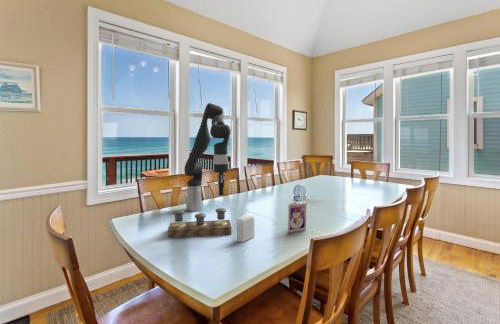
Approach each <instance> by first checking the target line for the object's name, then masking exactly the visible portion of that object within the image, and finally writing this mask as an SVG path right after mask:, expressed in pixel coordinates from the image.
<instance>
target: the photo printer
mask: <svg viewBox="0 0 500 324" xmlns="http://www.w3.org/2000/svg"><path fill="white" fill-rule="evenodd" d="M255 219H256V218H255V215H254V214H251V213H245V214H242V215H241V216H239V218H238V219H237V220H236V240H237V241H238V243H244V242H245V241H249V240H251V239H252V238H255V231H256V230H255V229H256V227H255V226H256V225H255V223H256V222H255V221H256V220H255Z"/></svg>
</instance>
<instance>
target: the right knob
mask: <svg viewBox="0 0 500 324" xmlns="http://www.w3.org/2000/svg"><path fill="white" fill-rule="evenodd" d="M226 212H227V208H224V207H223V208H222V207H220V208H219V207H218V208H216V209H215V213H217V215H216V219H217V220H226V215H225V214H226Z"/></svg>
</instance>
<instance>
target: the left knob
mask: <svg viewBox="0 0 500 324" xmlns="http://www.w3.org/2000/svg"><path fill="white" fill-rule="evenodd" d="M172 214H173V215H174V222H184V217H183V216H184V214H185V210H184V209H175V210H173V211H172Z"/></svg>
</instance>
